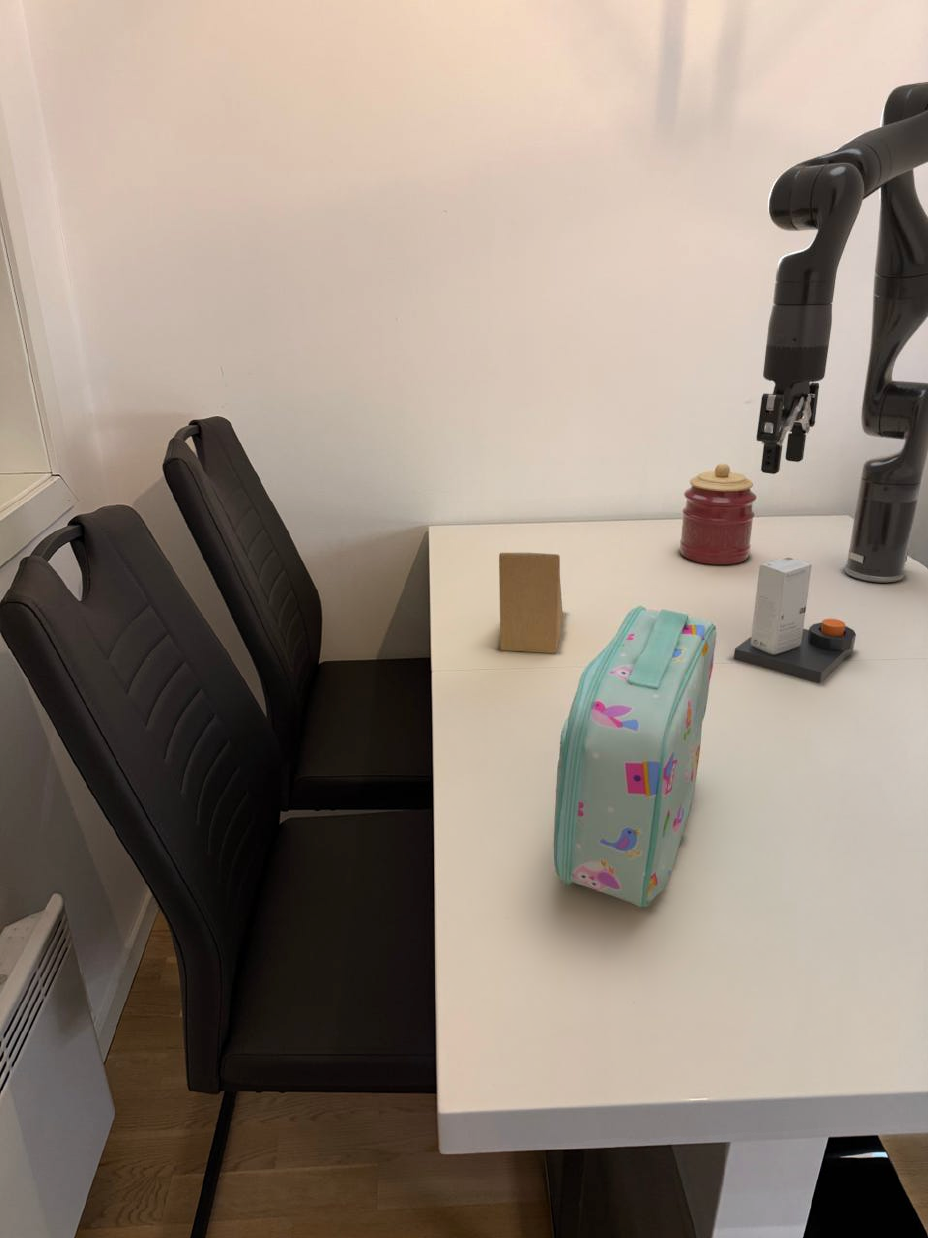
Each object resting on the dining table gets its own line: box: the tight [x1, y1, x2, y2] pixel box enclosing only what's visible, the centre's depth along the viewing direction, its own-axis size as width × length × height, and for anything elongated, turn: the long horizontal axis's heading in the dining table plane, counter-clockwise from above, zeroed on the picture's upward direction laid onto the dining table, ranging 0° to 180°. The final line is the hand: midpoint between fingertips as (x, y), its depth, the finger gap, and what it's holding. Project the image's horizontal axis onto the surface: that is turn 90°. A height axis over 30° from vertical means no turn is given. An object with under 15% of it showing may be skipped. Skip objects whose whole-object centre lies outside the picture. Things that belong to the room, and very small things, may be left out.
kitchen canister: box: [679, 462, 757, 565], centre depth 157 cm, size 13×13×18 cm
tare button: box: [821, 618, 846, 636], centre depth 118 cm, size 3×3×2 cm
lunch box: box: [553, 605, 718, 908], centre depth 79 cm, size 27×10×21 cm, turn 157°
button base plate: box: [733, 622, 857, 684], centre depth 118 cm, size 13×12×4 cm
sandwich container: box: [498, 552, 564, 654], centre depth 126 cm, size 9×15×15 cm, turn 170°
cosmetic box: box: [750, 557, 813, 655], centre depth 116 cm, size 6×4×12 cm
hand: (782, 466), depth 114 cm, fingers open, 8 cm apart
